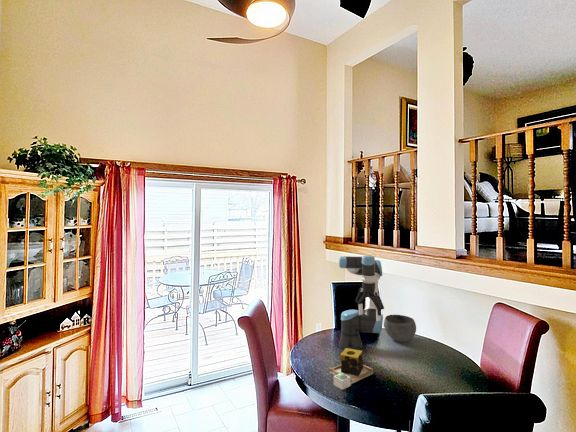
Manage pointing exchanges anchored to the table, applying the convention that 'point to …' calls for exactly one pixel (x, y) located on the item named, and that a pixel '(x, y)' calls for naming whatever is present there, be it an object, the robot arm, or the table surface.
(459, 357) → the table surface
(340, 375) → the button
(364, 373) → the beige square tray
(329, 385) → the table surface
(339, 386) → the button housing
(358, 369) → the candle
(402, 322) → the bowl
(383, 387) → the table surface
